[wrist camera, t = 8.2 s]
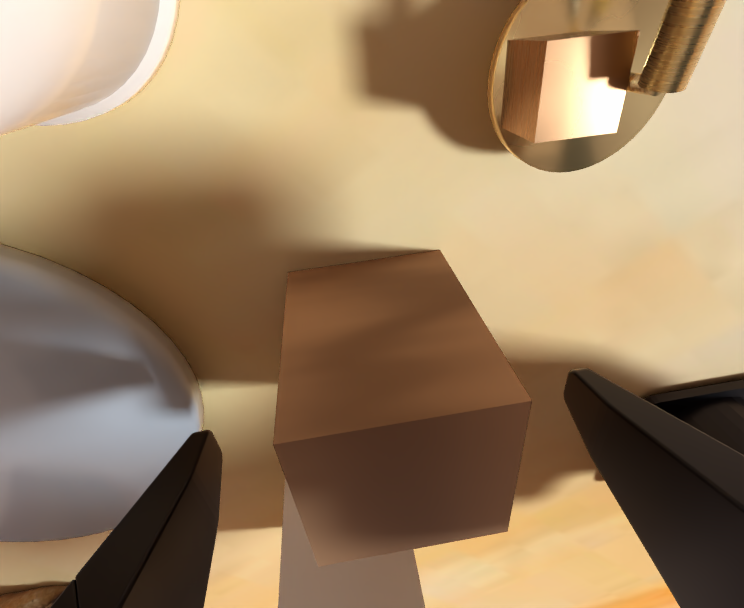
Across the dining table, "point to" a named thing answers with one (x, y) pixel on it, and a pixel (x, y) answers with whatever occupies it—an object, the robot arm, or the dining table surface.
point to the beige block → (342, 574)
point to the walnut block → (394, 409)
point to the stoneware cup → (78, 57)
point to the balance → (590, 74)
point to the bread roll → (32, 598)
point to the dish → (81, 402)
